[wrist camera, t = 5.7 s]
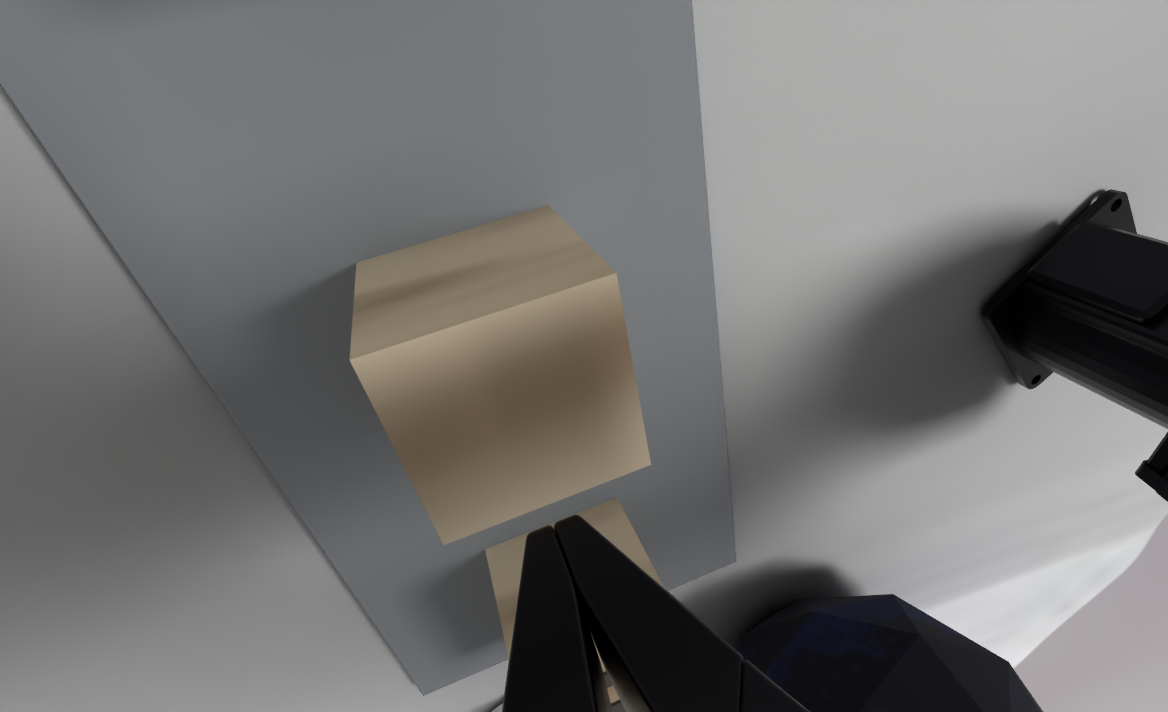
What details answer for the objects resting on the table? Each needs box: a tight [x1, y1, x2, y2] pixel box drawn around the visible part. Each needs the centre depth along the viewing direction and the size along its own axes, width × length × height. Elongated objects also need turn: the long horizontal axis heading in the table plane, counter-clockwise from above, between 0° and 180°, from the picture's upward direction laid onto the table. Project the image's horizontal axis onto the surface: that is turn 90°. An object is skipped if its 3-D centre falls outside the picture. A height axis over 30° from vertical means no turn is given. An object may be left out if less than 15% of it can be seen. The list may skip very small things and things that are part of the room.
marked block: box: [485, 498, 665, 712], centre depth 20 cm, size 5×5×5 cm
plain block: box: [350, 205, 651, 545], centre depth 14 cm, size 5×5×5 cm
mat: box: [0, 0, 736, 696], centre depth 16 cm, size 30×14×1 cm, turn 12°
